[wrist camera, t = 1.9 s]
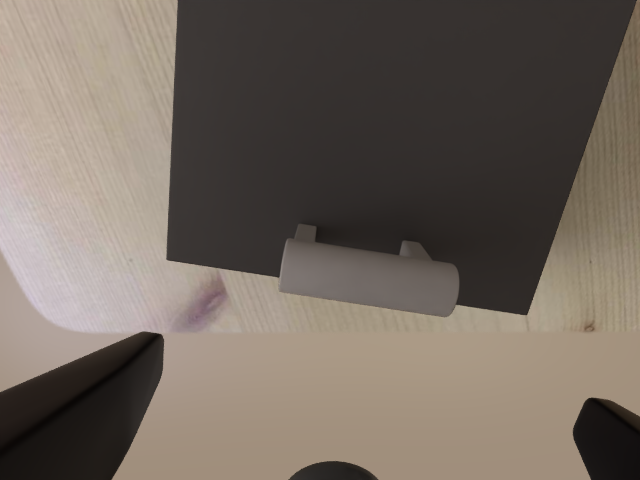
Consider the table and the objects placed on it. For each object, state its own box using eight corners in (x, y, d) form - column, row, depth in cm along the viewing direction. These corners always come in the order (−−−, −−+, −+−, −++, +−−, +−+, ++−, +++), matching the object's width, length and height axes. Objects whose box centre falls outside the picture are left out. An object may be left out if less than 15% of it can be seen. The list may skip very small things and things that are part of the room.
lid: (518, 307, 17) (599, 387, 12) (173, 254, 16) (105, 313, 11) (644, -65, 13) (845, -181, 8) (193, -146, 12) (102, -323, 7)
